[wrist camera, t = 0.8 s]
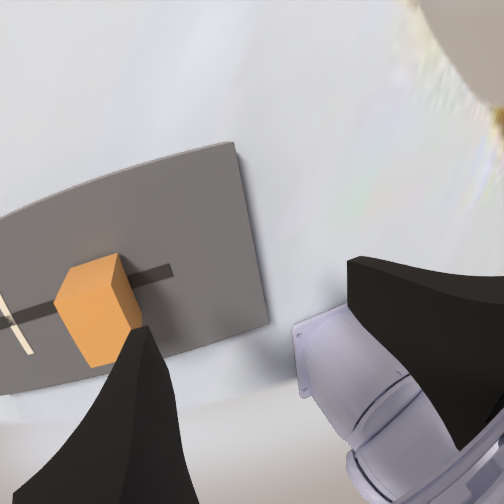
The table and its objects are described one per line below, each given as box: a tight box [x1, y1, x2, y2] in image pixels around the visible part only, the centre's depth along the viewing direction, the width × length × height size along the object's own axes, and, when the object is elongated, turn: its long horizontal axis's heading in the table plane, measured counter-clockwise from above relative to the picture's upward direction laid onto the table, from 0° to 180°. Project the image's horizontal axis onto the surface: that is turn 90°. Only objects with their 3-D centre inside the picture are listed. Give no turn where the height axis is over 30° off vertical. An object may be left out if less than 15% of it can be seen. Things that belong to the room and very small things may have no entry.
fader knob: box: [54, 253, 142, 368], centre depth 14 cm, size 4×3×4 cm
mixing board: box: [0, 142, 269, 396], centre depth 16 cm, size 12×24×2 cm, turn 100°
